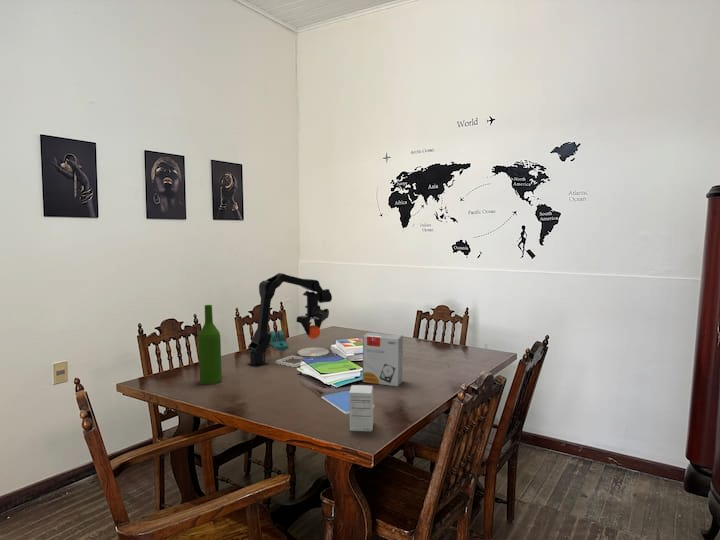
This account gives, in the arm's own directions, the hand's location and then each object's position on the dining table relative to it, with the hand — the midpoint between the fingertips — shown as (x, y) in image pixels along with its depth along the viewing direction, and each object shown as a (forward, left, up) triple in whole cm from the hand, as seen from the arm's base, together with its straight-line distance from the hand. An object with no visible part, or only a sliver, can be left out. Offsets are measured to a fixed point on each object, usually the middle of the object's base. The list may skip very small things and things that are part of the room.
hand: (312, 333), depth 246 cm
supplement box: (-61, -74, -11) cm, 96 cm away
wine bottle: (-59, +6, -11) cm, 60 cm away
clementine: (0, 0, -3) cm, 3 cm away
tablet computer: (-46, -57, -11) cm, 74 cm away
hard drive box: (-19, -55, -11) cm, 59 cm away
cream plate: (0, 0, -10) cm, 10 cm away
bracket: (+1, +25, -11) cm, 27 cm away
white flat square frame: (-19, -4, -10) cm, 22 cm away
